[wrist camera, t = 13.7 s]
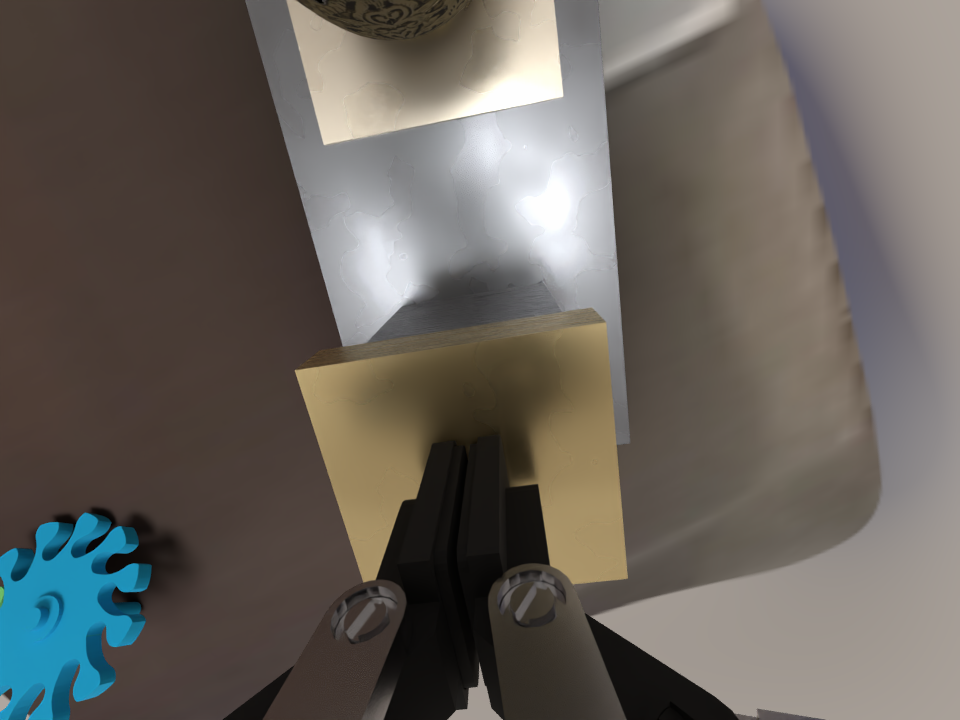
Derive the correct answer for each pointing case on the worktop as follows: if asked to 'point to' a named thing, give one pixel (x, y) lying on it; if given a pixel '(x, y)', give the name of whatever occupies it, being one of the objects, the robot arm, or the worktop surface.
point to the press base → (453, 168)
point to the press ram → (477, 428)
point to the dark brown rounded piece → (386, 16)
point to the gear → (65, 615)
